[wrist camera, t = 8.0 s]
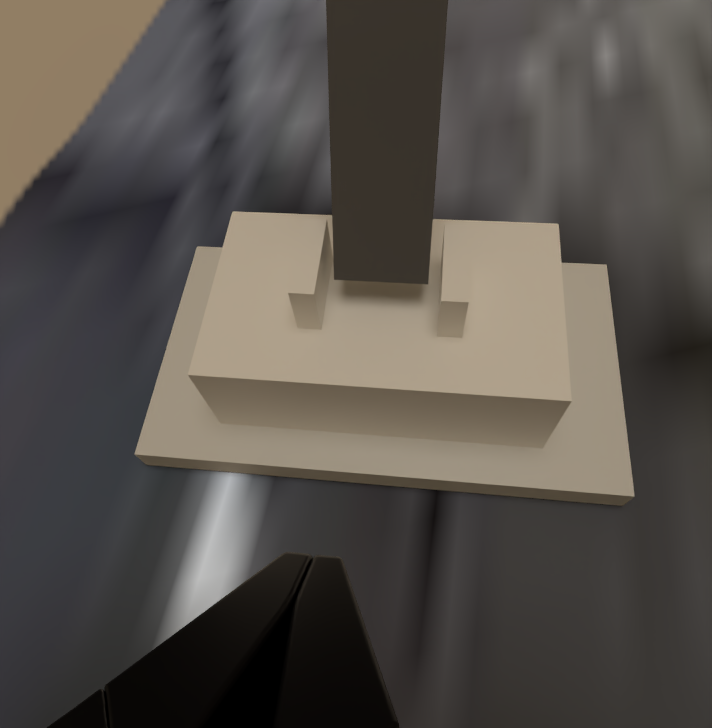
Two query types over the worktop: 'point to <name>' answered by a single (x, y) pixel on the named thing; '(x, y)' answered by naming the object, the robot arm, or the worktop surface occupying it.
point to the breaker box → (396, 366)
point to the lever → (384, 135)
